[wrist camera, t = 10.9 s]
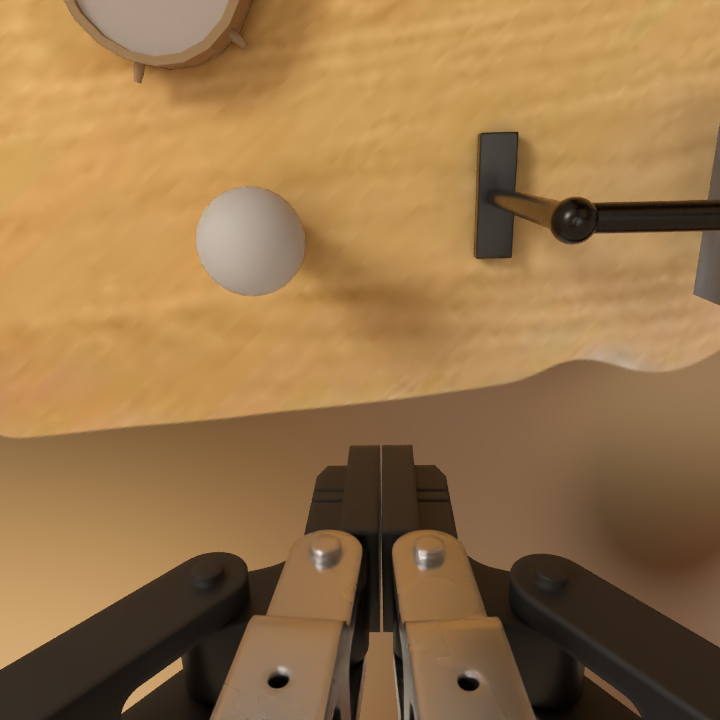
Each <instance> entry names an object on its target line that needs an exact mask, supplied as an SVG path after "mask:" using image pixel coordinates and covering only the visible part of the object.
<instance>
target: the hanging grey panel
mask: <svg viewBox="0 0 720 720" xmlns="http://www.w3.org/2000/svg"><path fill="white" fill-rule="evenodd" d="M708 200H720V126H719V132H718V138H717V145H716V151H715V158H714V164H713V170H712V177H711V183H710V190H709V196H708ZM693 294H694V295H696V296H699V297H701V298H703V299H706V300H708V301H711V302H713V303H715V304H718V305H720V231H703V235H702V241H701V247H700V254H699V260H698V267H697V273H696V279H695V286H694V292H693Z"/></svg>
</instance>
